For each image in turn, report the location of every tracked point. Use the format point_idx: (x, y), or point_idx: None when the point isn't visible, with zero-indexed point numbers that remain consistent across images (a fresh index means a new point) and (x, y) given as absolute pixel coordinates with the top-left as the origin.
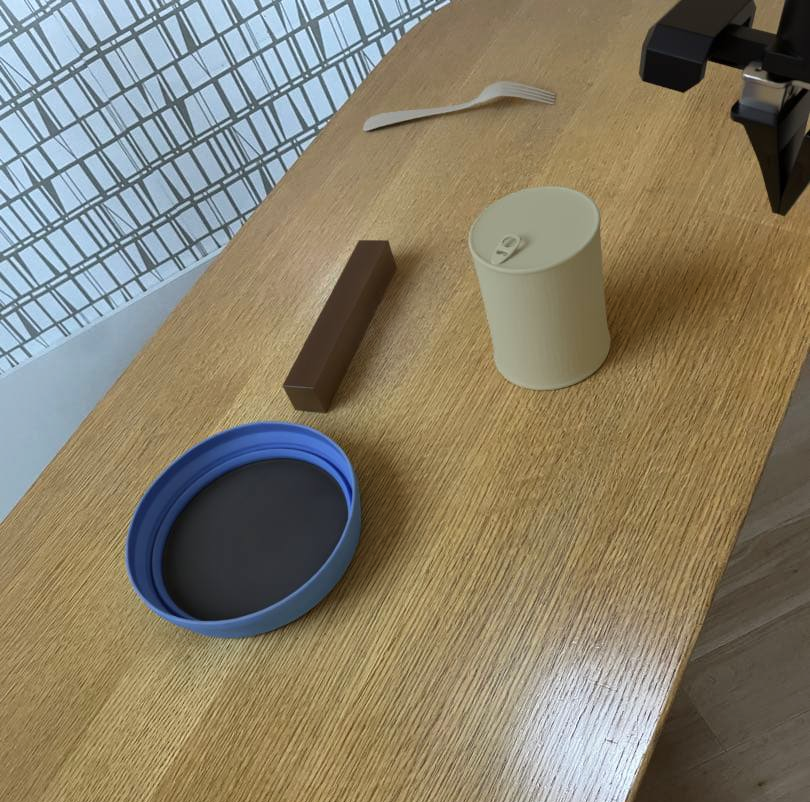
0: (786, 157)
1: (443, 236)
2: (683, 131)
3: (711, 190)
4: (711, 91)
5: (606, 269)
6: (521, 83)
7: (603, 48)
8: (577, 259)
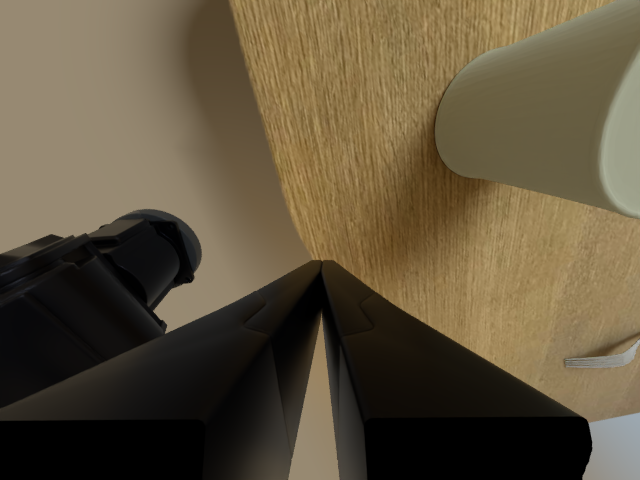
0: (331, 344)
1: None
2: None
3: None
4: None
5: (471, 231)
6: (603, 367)
7: None
8: (615, 62)
